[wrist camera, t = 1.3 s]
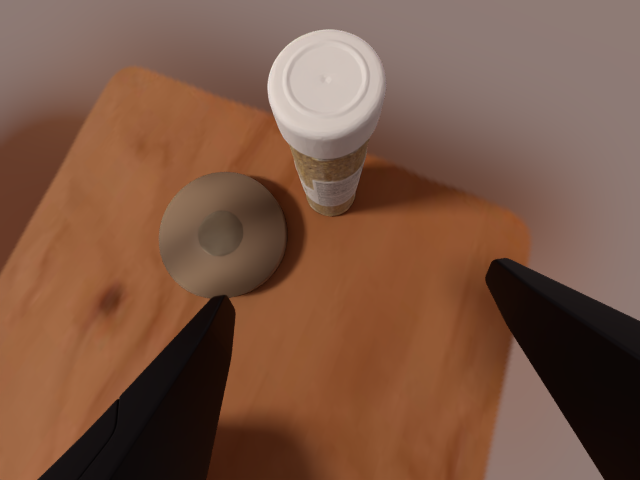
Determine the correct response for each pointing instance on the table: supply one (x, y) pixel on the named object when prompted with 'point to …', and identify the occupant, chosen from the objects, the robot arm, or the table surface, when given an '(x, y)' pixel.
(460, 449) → the table surface
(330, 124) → the sprinkles bottle
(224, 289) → the grey-brown round disc
